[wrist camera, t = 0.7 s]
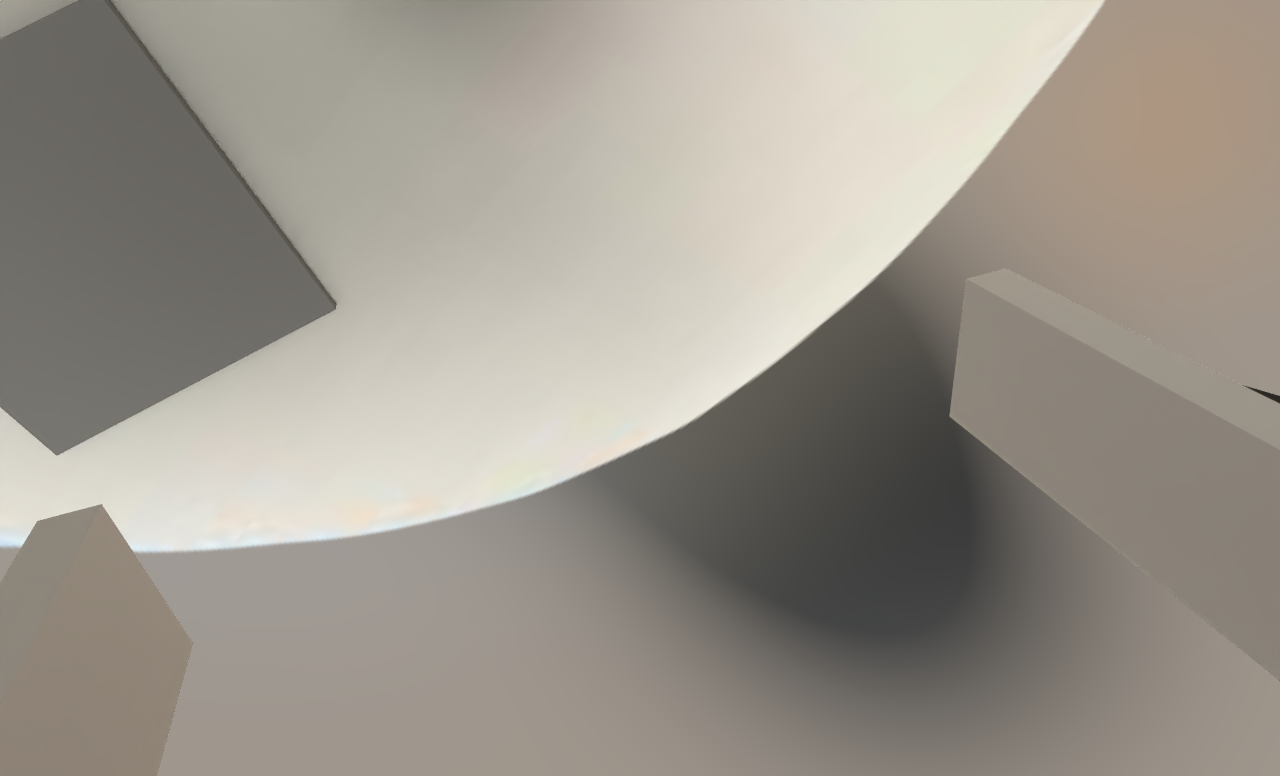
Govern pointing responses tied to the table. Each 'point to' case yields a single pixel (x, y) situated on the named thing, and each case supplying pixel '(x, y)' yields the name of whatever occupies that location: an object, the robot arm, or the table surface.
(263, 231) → the mat
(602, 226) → the table surface
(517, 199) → the table surface
